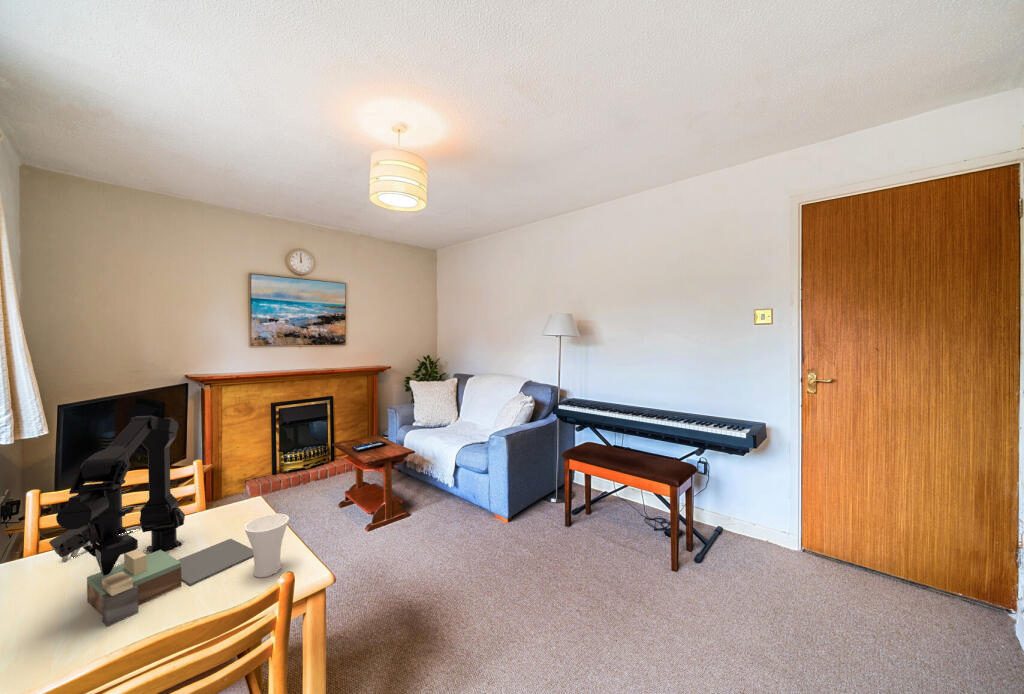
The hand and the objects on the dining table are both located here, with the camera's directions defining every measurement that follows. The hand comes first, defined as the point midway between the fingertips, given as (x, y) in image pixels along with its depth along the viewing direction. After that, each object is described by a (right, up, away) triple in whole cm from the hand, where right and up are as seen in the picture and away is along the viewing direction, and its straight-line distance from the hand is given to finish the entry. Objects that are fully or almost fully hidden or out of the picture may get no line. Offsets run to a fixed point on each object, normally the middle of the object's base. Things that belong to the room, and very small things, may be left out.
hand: (106, 574), depth 93 cm
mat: (+11, -7, +19) cm, 23 cm away
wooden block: (+6, -1, -3) cm, 7 cm away
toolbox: (+4, -7, +3) cm, 9 cm away
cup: (+29, -8, +14) cm, 34 cm away
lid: (+3, -2, +4) cm, 6 cm away
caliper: (-29, -7, +28) cm, 41 cm away
